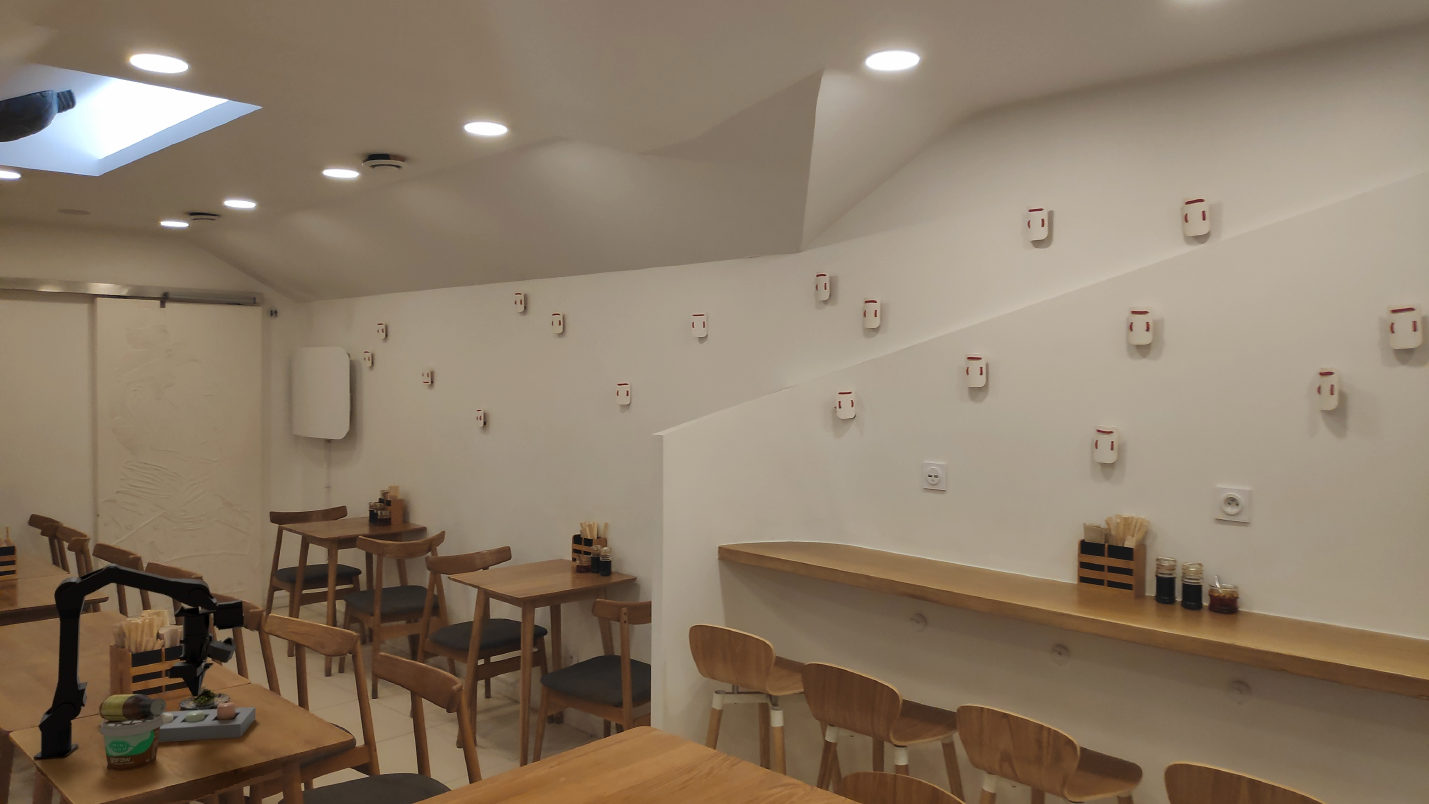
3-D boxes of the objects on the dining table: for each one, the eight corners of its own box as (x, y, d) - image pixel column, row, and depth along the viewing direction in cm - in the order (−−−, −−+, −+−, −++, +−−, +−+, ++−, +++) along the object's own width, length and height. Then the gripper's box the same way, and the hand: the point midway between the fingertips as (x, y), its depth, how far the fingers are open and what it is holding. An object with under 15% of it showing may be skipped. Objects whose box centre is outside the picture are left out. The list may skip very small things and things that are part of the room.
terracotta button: (232, 719, 218) (232, 707, 218) (214, 720, 217) (214, 708, 217) (237, 713, 222) (237, 701, 222) (220, 714, 221) (220, 702, 221)
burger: (208, 716, 229) (208, 687, 229) (167, 713, 231) (167, 684, 231) (240, 700, 241) (240, 673, 241) (201, 698, 243) (201, 670, 243)
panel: (240, 737, 215) (240, 723, 215) (129, 743, 210) (130, 730, 210) (255, 719, 227) (255, 706, 227) (150, 725, 222) (151, 712, 222)
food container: (89, 775, 193) (90, 729, 193) (101, 763, 199) (101, 719, 199) (154, 769, 196) (154, 724, 196) (163, 758, 202) (163, 714, 202)
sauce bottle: (126, 709, 229) (176, 711, 221) (103, 725, 224) (153, 728, 216) (115, 688, 228) (165, 689, 219) (92, 703, 222) (142, 705, 214)
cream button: (169, 731, 215) (169, 718, 215) (151, 732, 215) (151, 719, 215) (175, 725, 219) (175, 712, 219) (157, 726, 219) (157, 713, 219)
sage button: (201, 728, 217) (201, 715, 217) (183, 729, 216) (183, 716, 216) (206, 722, 221) (207, 710, 221) (189, 723, 220) (189, 711, 220)
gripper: (219, 641, 211) (218, 707, 211) (243, 621, 229) (243, 682, 229) (167, 643, 209) (167, 709, 209) (196, 623, 227) (195, 684, 227)
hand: (195, 695), depth 218 cm, fingers closed
